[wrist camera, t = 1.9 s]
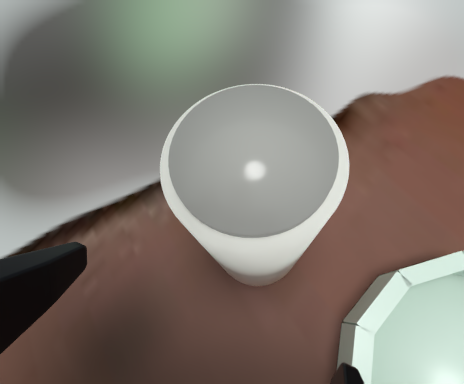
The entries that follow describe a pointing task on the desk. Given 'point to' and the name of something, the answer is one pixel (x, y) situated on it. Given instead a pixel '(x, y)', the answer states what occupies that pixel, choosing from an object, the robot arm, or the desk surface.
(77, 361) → the desk surface
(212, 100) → the white cylinder
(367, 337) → the bowl
